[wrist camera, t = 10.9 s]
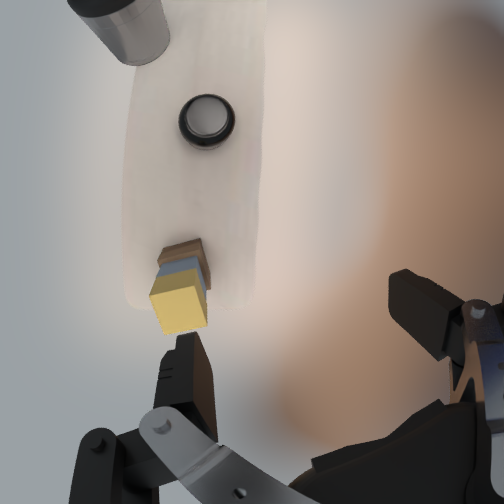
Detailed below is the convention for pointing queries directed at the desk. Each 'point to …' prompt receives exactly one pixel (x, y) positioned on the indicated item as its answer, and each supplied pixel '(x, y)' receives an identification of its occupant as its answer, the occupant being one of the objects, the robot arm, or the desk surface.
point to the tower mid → (183, 268)
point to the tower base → (187, 251)
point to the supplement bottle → (206, 121)
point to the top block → (179, 301)
